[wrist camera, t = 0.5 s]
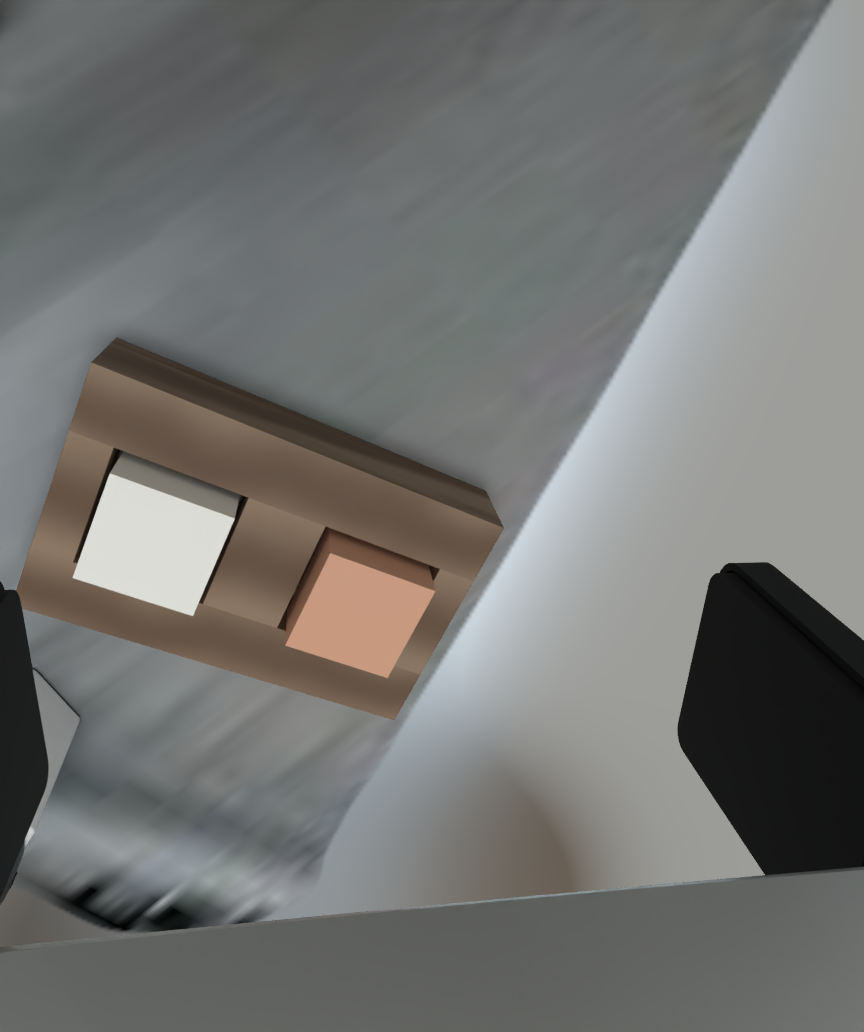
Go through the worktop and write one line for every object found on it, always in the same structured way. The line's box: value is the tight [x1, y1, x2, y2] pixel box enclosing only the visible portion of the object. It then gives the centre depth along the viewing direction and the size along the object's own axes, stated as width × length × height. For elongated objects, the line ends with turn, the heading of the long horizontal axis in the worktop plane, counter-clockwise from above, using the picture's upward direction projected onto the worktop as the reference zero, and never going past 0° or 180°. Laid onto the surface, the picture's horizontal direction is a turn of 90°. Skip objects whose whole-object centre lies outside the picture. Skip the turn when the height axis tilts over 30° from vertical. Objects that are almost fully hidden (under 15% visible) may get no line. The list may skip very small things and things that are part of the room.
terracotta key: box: [285, 527, 435, 678], centre depth 43 cm, size 6×6×4 cm
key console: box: [16, 338, 504, 720], centre depth 44 cm, size 14×22×5 cm, turn 63°
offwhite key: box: [73, 451, 240, 616], centre depth 40 cm, size 6×6×4 cm
